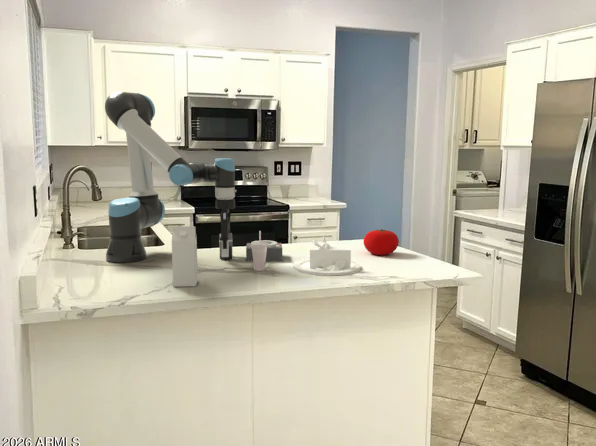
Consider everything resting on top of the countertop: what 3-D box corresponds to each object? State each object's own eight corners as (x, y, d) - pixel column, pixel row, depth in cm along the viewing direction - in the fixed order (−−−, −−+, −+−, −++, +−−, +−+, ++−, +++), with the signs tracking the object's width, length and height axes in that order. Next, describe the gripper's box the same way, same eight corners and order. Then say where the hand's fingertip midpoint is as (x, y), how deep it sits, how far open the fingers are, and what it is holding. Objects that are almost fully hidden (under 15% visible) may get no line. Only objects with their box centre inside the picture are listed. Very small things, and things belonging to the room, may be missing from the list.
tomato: (359, 255, 227) (360, 230, 226) (367, 249, 239) (368, 225, 238) (394, 258, 222) (395, 232, 221) (400, 252, 234) (401, 228, 232)
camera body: (246, 261, 215) (246, 245, 215) (246, 255, 226) (246, 240, 225) (282, 260, 216) (282, 245, 216) (281, 255, 227) (281, 240, 226)
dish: (282, 272, 199) (282, 241, 197) (307, 258, 222) (307, 231, 220) (348, 279, 190) (349, 246, 188) (367, 264, 213) (368, 235, 211)
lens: (218, 260, 217) (218, 234, 215) (219, 257, 222) (219, 232, 220) (232, 260, 217) (232, 234, 215) (233, 257, 222) (232, 232, 221)
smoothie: (270, 268, 204) (270, 230, 202) (264, 272, 198) (264, 233, 196) (254, 266, 206) (254, 229, 204) (247, 270, 200) (247, 232, 198)
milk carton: (175, 281, 184) (174, 224, 182) (197, 281, 185) (196, 224, 182) (172, 287, 177) (171, 228, 175) (195, 286, 178) (194, 228, 175)
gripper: (233, 201, 204) (234, 260, 208) (236, 195, 228) (236, 247, 231) (213, 201, 204) (214, 260, 207) (217, 195, 227) (218, 248, 230)
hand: (226, 253), depth 219 cm, fingers open, 11 cm apart
